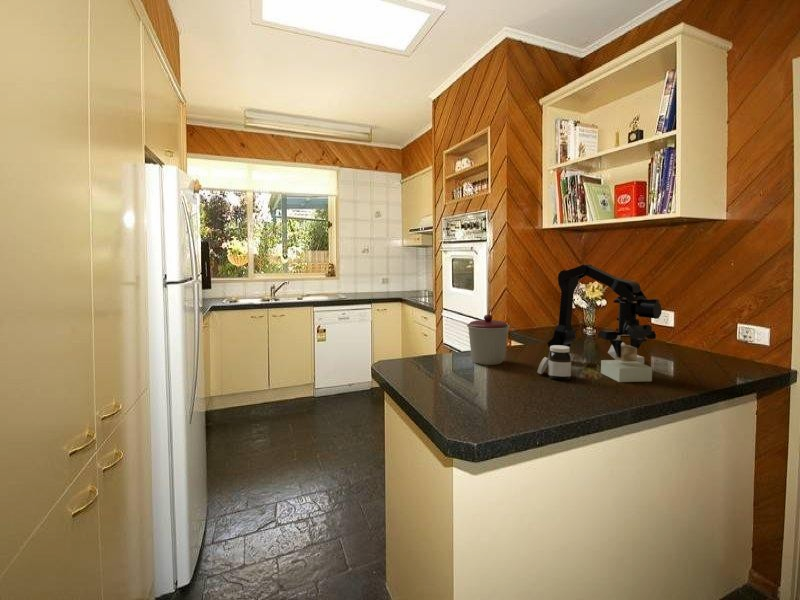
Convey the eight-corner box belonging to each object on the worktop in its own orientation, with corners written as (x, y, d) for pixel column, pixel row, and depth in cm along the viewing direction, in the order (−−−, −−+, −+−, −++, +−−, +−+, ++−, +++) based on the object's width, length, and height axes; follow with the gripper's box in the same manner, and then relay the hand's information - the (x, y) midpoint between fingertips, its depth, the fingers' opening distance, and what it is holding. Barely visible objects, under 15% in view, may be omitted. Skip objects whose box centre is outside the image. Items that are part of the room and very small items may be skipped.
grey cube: (631, 369, 158) (632, 357, 157) (624, 366, 163) (624, 354, 162) (643, 369, 158) (644, 357, 158) (635, 366, 163) (636, 354, 163)
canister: (458, 362, 173) (458, 314, 171) (483, 355, 185) (483, 310, 183) (493, 370, 159) (493, 318, 157) (517, 362, 171) (518, 314, 169)
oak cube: (623, 361, 145) (623, 348, 144) (615, 358, 150) (615, 345, 149) (636, 361, 145) (637, 347, 145) (628, 358, 150) (628, 345, 150)
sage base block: (619, 382, 142) (619, 368, 141) (600, 372, 154) (601, 360, 153) (651, 381, 142) (652, 367, 142) (630, 372, 154) (631, 359, 154)
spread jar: (572, 382, 143) (573, 350, 142) (540, 380, 145) (540, 349, 144) (566, 372, 155) (566, 343, 154) (535, 371, 157) (536, 342, 156)
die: (632, 364, 168) (638, 344, 171) (614, 355, 167) (620, 335, 171) (618, 367, 175) (624, 348, 179) (602, 357, 175) (608, 338, 178)
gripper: (615, 319, 138) (613, 363, 139) (667, 318, 138) (665, 362, 140) (598, 315, 149) (596, 355, 150) (646, 314, 149) (644, 354, 151)
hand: (625, 357), depth 147 cm, fingers closed on oak cube, 5 cm apart
